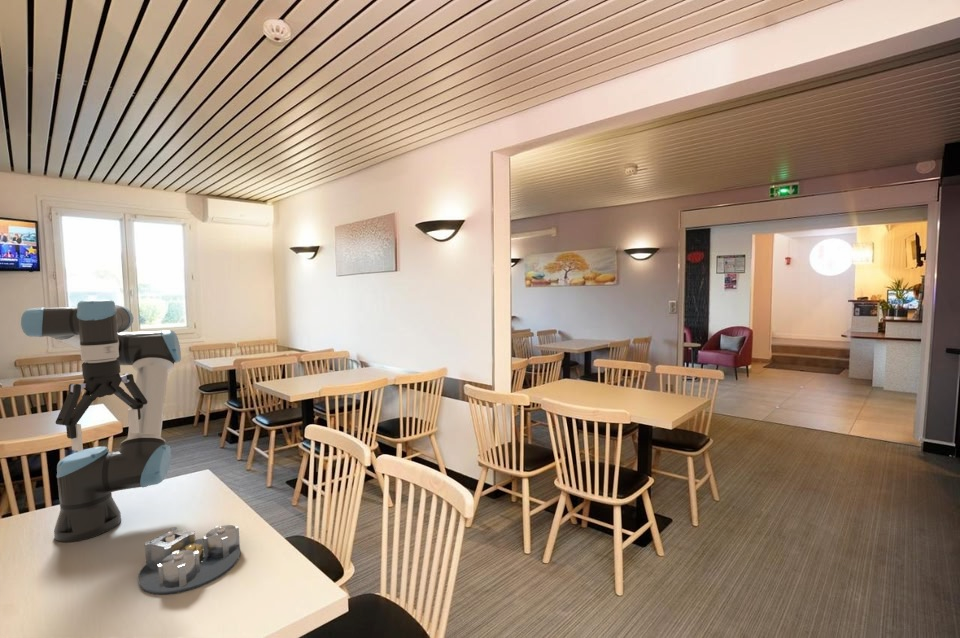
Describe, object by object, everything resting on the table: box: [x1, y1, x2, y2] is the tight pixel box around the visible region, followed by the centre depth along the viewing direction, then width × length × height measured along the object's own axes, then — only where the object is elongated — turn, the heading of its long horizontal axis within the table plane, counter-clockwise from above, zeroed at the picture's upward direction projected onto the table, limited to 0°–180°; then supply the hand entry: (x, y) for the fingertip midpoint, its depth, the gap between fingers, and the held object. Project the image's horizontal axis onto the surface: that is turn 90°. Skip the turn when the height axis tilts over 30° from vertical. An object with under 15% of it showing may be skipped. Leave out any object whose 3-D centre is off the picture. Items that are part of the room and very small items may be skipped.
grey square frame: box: [144, 527, 196, 565], centre depth 119 cm, size 9×9×5 cm
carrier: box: [138, 524, 241, 596], centre depth 117 cm, size 22×22×8 cm
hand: (107, 441), depth 119 cm, fingers open, 13 cm apart
